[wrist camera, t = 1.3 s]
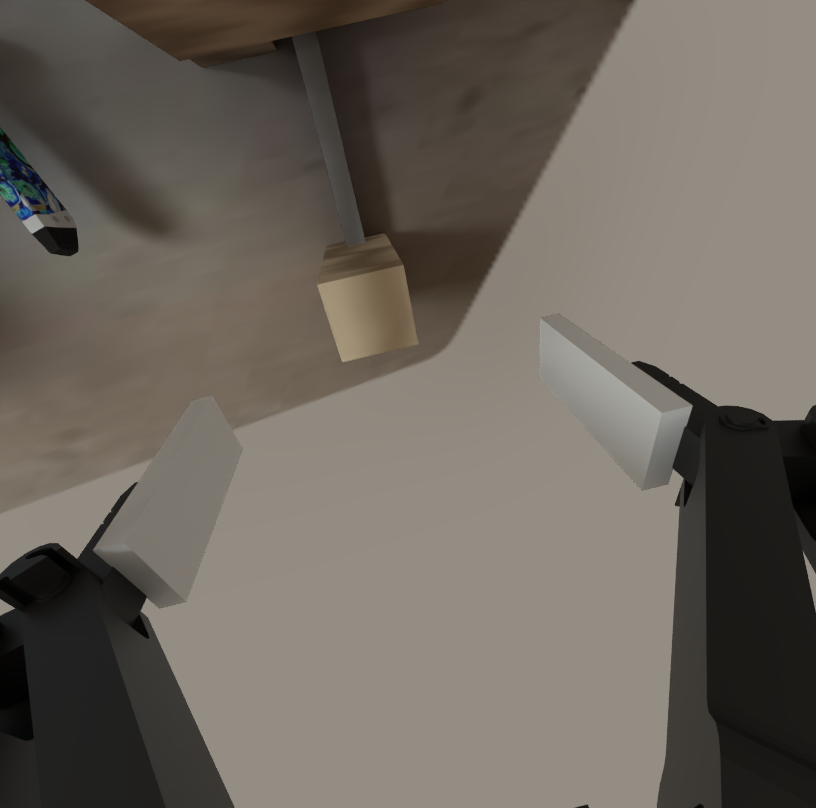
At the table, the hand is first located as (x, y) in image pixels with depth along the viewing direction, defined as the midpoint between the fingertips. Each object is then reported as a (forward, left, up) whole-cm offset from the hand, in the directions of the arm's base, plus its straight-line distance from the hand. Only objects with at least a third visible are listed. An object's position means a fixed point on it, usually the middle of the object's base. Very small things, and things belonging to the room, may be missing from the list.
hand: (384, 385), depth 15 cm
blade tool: (0, +8, -21) cm, 22 cm away
